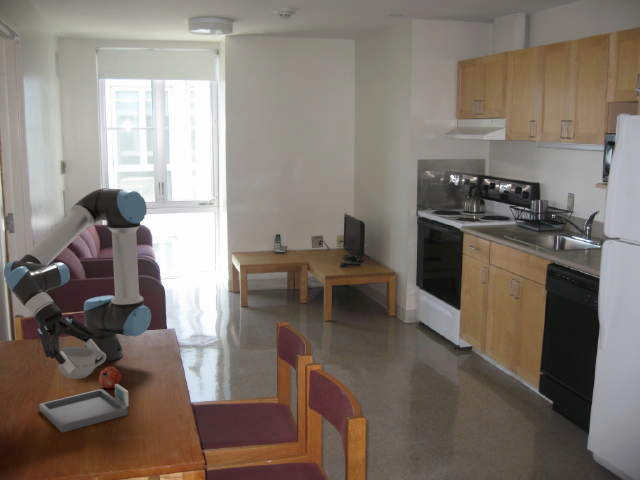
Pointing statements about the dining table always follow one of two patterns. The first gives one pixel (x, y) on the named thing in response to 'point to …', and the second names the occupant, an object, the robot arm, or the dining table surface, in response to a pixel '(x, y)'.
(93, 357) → the teacup
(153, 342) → the dining table surface
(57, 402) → the tray
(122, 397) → the tag
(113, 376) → the pomegranate
